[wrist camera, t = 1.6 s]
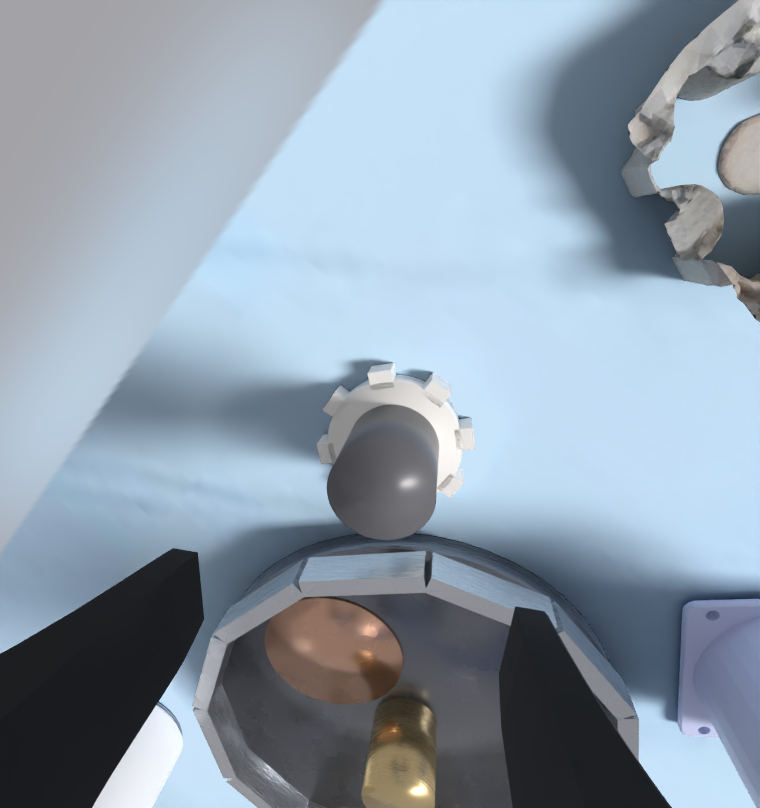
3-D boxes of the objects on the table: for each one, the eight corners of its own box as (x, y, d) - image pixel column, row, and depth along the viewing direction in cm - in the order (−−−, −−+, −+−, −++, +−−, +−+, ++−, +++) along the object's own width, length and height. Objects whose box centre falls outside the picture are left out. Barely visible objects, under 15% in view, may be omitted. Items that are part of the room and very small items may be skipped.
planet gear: (463, 352, 17) (466, 391, 13) (481, 495, 19) (489, 568, 15) (308, 374, 18) (265, 416, 14) (340, 505, 20) (312, 575, 16)
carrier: (611, 517, 19) (664, 611, 14) (617, 825, 25) (654, 957, 21) (175, 545, 23) (105, 625, 18) (280, 803, 29) (247, 909, 25)
